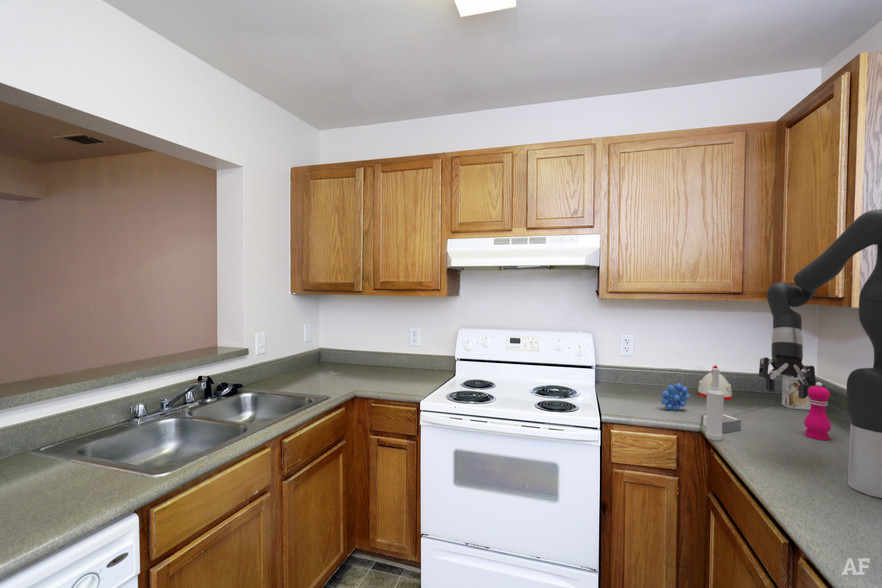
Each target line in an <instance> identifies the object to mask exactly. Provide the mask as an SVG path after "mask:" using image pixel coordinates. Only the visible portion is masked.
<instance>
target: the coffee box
mask: <svg viewBox="0 0 882 588" xmlns="http://www.w3.org/2000/svg"><path fill="white" fill-rule="evenodd" d="M801 372H802V373H803V375H804V376H805V372H803V370H801ZM781 376H782V377H781V379H782V387H781V405H782V406H784V407H786V408H787V409H793V410H809V411H810V408H811V405H810V403H809V399H810V397H809V396H807V397H806V398H805V399H801V398H799V397H798V386H800V385H799V384H798V383H797V381H796V380H794V379H793V377H788V376H785V375H781ZM797 376H798V375H797ZM813 386H815V385H811V386H808V389H809V388H810V387H813Z"/></svg>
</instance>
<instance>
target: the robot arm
mask: <svg viewBox="0 0 882 588" xmlns="http://www.w3.org/2000/svg"><path fill="white" fill-rule="evenodd" d="M873 245H875V246H876V261H875V265H874V268H873V270H872V272H871V274H870V275H869V277H868V278H867V280H866V281H865V283H864V284H863V286H862V288H861V290H860V292H859V296H858V320H859V323H860V325H861V327H862V329H863V331H865V334H866V336H867V337H868V338H869V340H870V342H871V344H872V349H873V366H872V367H862V368H857V369H854V370H852V371H851V372H850V374H849V375H848V377H847V380H846V408H847V412H848V416H849V417H850V431H849V455H848V475H847V478H848V479H847V481H848V483H847V484H848V485H847V486H849V487H850V488H851V489H853V490H855V491H857V492H860V493H862V494H865V495H867V496H871V497H875V498H880V499H882V208H881V209H880V208H879V209H872V210H869V211H865V212H864V213H862V214H861V215H859V216H858V217H857V218H856V219H855V220H854V221H853V222H852V223H850V225H849V226H848V227H847V228H846V229H845V230H844V231H843V232H842V234H840V235H839V236H838V237H837V239H835V240H834V241H833V242H832V243H831V244H830V245H829V247H828V248H827V249H825V250H824V251H823V252H822V253H821V254H820V255H819V256H818V257H817V258H815V259H814V260H813V261H811V262H809V263H808V264H807V265H806V266H804V267H803V268H801V269H800V270H799V271H798V272H797V273H795V275H794V276H793V282H794V283H795V285H794V284H789V283H785V282H780V281H779V282H775V283H774V282H773V284H771V285H769V287H768V290H767V292H766V293H767V294H766V300H767V303H768V306H769V309H770V312H771V315H772V335H771V359H770V358H769V357H763V358H760V359H759V368H758V376H759V377H762V378H764V379H765V389H766V391H767V392H768V393H775V381H776V380H774V379H775V378H776V377H777V376H782V375H785V376H788V377H793V379H794V380H796V381H797V383H798V384H799V385H800V386H798V397H799V398H801V399H805V398H806V397H807V396H808V386H811V385H814V386H816V383H817V381H816V370H815V366H814V365H804V364H803V356H804V351H803V350H804V339H803V333H802V331H803V330H802V327H803V326H802V325H803V324H802V319H803V318H802V315H801V314H800V313H798V312H797V311H795V310H793V309H792V308H799V307H802V306H804V305H806V304H807V303H808V302H809V301H810V300H811V298H812V297H813V296H814V295H815V293H817V292H818V289H820V288H821V287H823V286H824V285H826V284H827V283H829V282H830V281H831V280H833V279H835V278H836V277H837V276H838V275H839V274H840V273H841V272H842V270H843V269H844V267H845V265H846V264H847V262H848V261H849V260H850V259H851V258H852V257H854V255H856V254H857V253H859V252H861V251H863V250H865V249H866V248H868V247H870V246H873ZM770 365H771V366H772V369H771V370H770V371H769V366H770ZM801 371H803V372H805V376H804V375H803V373H802V372H801ZM797 375H798V376H797Z"/></svg>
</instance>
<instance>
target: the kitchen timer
mask: <svg viewBox="0 0 882 588" xmlns="http://www.w3.org/2000/svg"><path fill="white" fill-rule="evenodd" d="M713 368H716V369H719V368H718V366H717V365H715V364H714V365H713V366H712V369H713ZM712 375H713V374H712V371H711V372H709V373H707V374H706V375H704V376H703V378H702V379H699V382H698V388H697V395H698V396H699V397H702V398H704V399H705V398H706V399H707V391H708V390H709V389H711V387H712ZM719 388H720V390H721V391H722V392H723V393H724V401H730V400H732V398H733V392H732V386H731V383H729V381H728V380H727V379H726V377H725V376H724V375H723V374H722V373H720V372H719Z"/></svg>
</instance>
